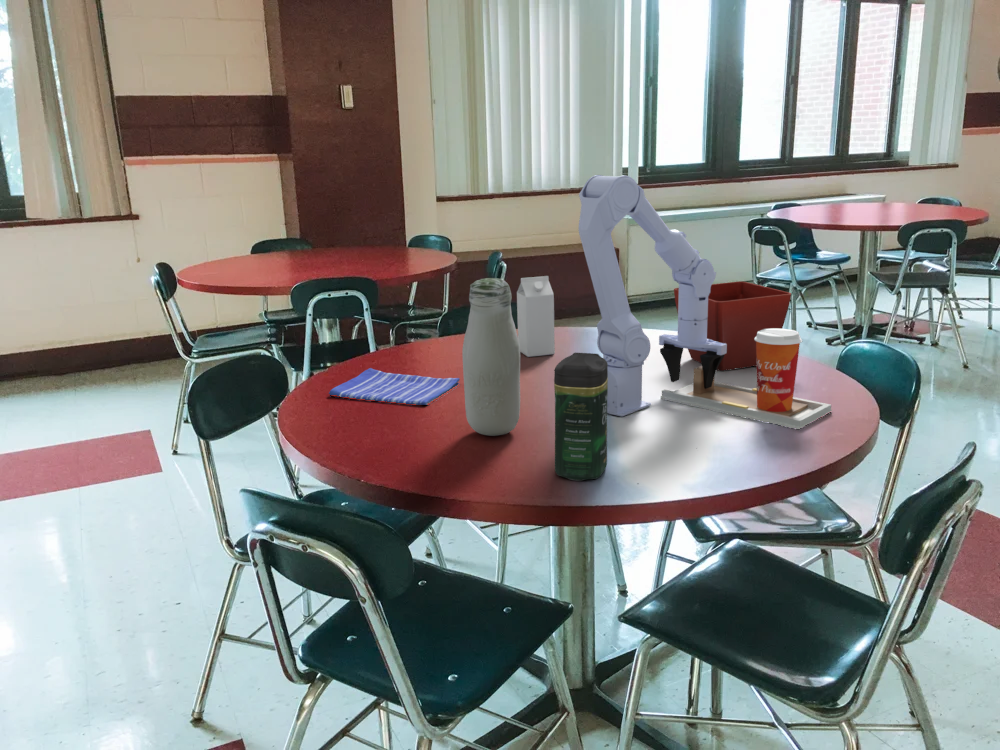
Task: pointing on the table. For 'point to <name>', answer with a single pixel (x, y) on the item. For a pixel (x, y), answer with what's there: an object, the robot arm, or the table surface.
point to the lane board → (793, 421)
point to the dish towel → (394, 387)
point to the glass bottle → (491, 360)
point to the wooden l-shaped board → (733, 395)
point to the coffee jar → (581, 416)
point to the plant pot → (741, 319)
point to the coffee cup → (776, 368)
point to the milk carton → (535, 316)
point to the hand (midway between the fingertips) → (690, 384)
